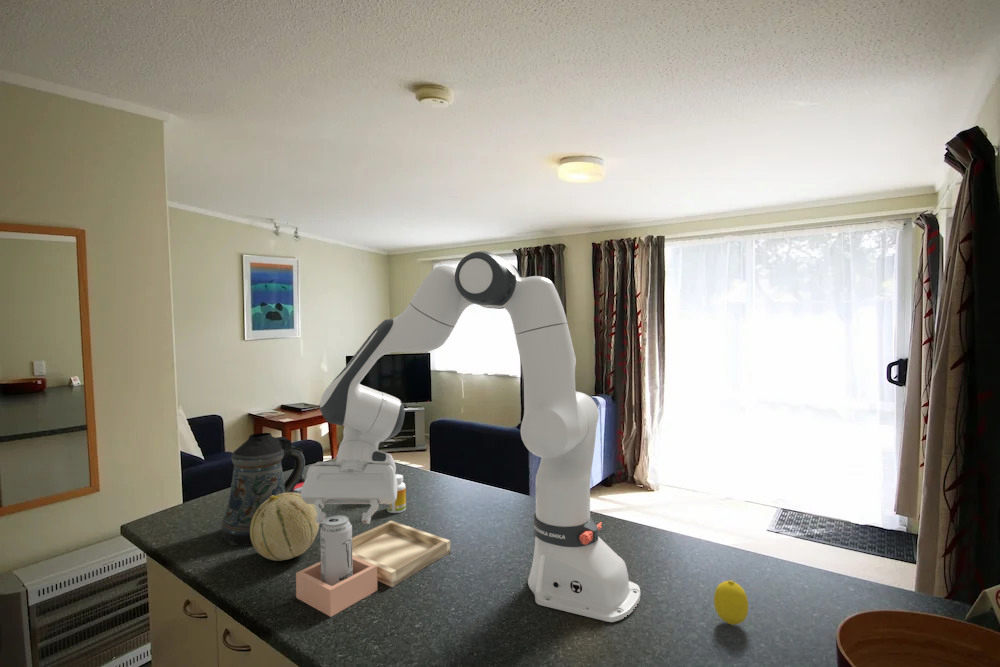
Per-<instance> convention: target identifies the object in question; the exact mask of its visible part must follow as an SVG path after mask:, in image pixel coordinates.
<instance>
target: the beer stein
mask: <svg viewBox="0 0 1000 667" xmlns="http://www.w3.org/2000/svg"><path fill="white" fill-rule="evenodd" d="M230 458H231V459H230V460H231V462H232V464H233V472H232V478H231V483H230V489H229V490H230V492H229V498H228V502H227V507H226V510H225V513H224V517H223V518H222V521H221V525H220V527H221V531H222V535H223V540H224V542H226V543H228V544H229V543H230V545H232V546H251V545H250V544H252V541H251V538H250V526H251V521H252V518H253V516H254V514H255V512H256V510H257V509H258V507H259V506H260V505H261V504H262V503H264V502H265V501H266V500H268V499H269V498H270V496H272V495H274V496H276V495H278V494H282V493H290V492H291V491H292V490H293V489H294V487H295V486H296V484H297V483H298V481H299V479H300V478H301V476H302V477H303V474H304V471H305V465H306V460H305V456H304V454H303V450H302V449H301V448H299V447H296V446H294V445H293V444H292V441H291V440H289V439H288V438H286V437H284V436H277V437H275V436H273V435H272V433H271V432H259V433H258V432H257V433H253V434H250V435H249V436H248V439H247V440H245V442H244V443H242V444H241V445H240V446H239V447H238V448H236V449H235V450H234V451H233V452H232V454H231V455H230ZM287 458H293V459H294V467H293V468H292V472H291V473H290V475H289V476H288V478H287V480H284V479H285V478H284V472H283V467H282V460H283V459H287ZM298 484H299V483H298ZM252 545H253V544H252Z"/></svg>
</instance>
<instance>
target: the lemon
mask: <svg viewBox="0 0 1000 667" xmlns="http://www.w3.org/2000/svg"><path fill="white" fill-rule="evenodd" d="M713 602H714V609H715V612H716V614H717V615H718V617H719V618H720V619H721V620H722V621H724V622H725V623H727V625H729V624H731V625H730V626H733V625H738V624H741V623H742V622H744V620H746V618H747V616H748V613H749V600H748V596H747V593H746V591H745V589H744V588H743V587H742V586H741V585H740V584H738V583H737V582H735V581H733V580H732V579H729V580H725V581H722V582H720V583H719V584H718V585H717V587H716V589H715V591H714V596H713Z"/></svg>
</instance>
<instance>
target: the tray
mask: <svg viewBox="0 0 1000 667" xmlns="http://www.w3.org/2000/svg"><path fill="white" fill-rule="evenodd" d="M449 553H450V554H451V540H450V539H447V538H445V537H442V536H438V535H436V534H433V533H429V532H427V531H423V530H421V529H418V528H415V527H411V526H408V525H406V524H403V523H400V522H397V521H394V520H389V521H386V522H385V523H382V524H380V525H378V526H376V527H373V528H371V529H369V530H366V531H364V532H362V533H360V534H358V535H355V536H352V556H355V557H357V558H359V559H362V560H364V561H367V562H369V563H371V564H374V565H376V566H377V582H380V583H382V584H384V585H387V586H389V587H391V588H392V587H395V586H397V585H398V584H400V583H402V582H403V581H405V580H407V579H408V578H410V577H412V576H414V575H415V574H417V573H418V571H419V572H420V571H423V570H424V569H425V567H426V568H427V567H429V566H430V564H431V565H432V564H434V563H435V561H436V562H437V560H438V561H439V560H441V559H443V558H444V557H446V556H448V555H449Z"/></svg>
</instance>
